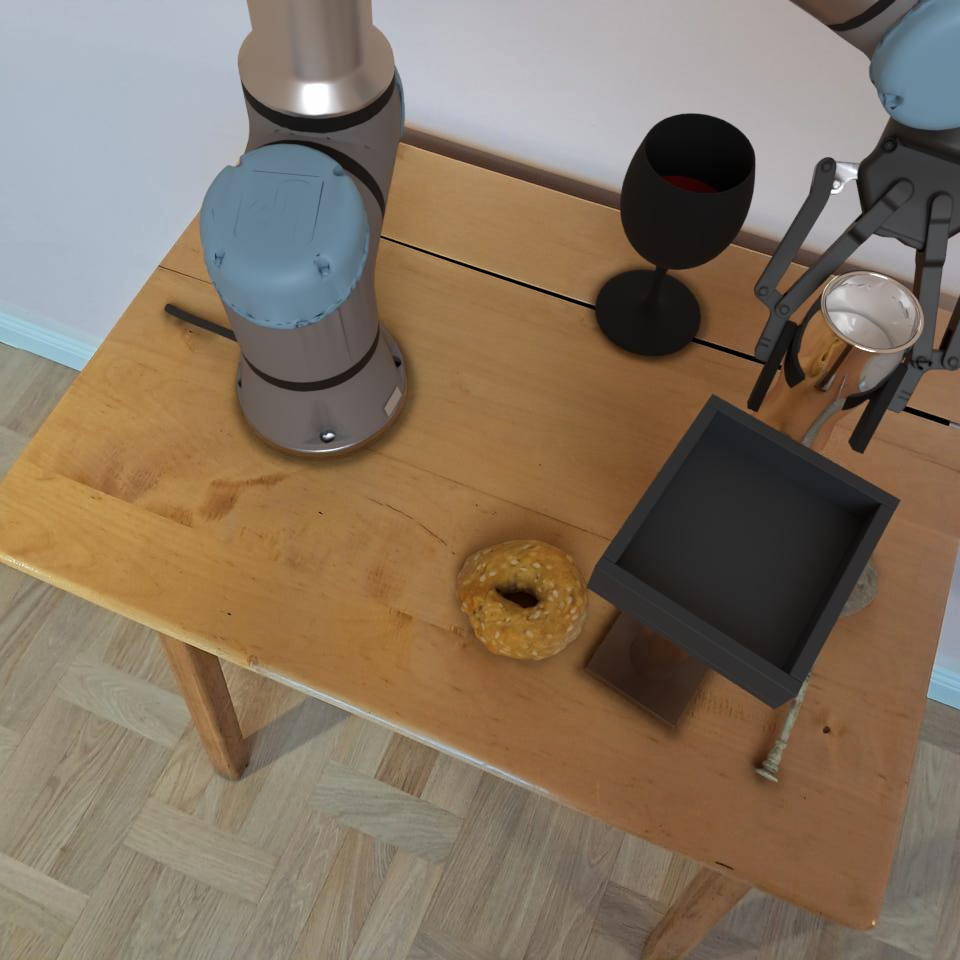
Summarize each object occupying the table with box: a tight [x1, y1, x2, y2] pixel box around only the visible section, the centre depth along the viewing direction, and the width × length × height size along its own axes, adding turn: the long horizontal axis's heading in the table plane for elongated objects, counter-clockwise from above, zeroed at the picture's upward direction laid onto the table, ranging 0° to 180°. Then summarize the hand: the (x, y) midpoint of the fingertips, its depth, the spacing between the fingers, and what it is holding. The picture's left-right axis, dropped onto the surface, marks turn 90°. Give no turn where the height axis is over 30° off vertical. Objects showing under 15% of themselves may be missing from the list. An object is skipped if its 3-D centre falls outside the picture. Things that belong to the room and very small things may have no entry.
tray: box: [586, 393, 901, 710], centre depth 48 cm, size 12×13×3 cm
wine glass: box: [594, 112, 757, 357], centre depth 76 cm, size 10×10×20 cm
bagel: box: [454, 539, 590, 661], centre depth 69 cm, size 10×11×5 cm
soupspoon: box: [754, 558, 879, 783], centre depth 69 cm, size 22×3×7 cm
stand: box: [583, 610, 711, 731], centre depth 59 cm, size 8×8×23 cm
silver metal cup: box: [752, 269, 924, 454], centre depth 62 cm, size 7×7×15 cm
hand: (803, 426), depth 62 cm, fingers closed on silver metal cup, 7 cm apart
